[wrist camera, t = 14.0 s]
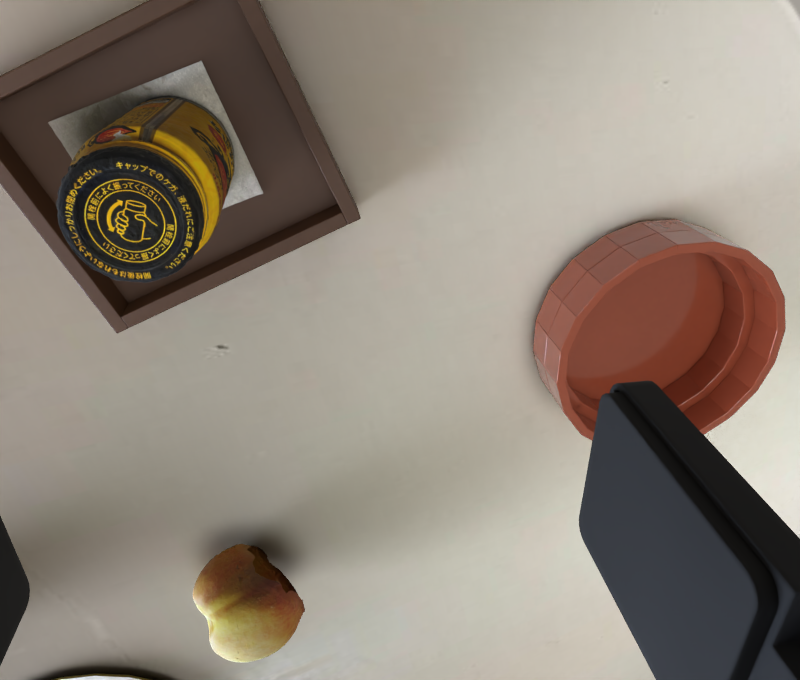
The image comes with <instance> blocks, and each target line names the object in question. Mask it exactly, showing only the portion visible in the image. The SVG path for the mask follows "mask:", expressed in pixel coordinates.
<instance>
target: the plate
mask: <svg viewBox="0 0 800 680" xmlns="http://www.w3.org/2000/svg"><path fill="white" fill-rule="evenodd" d="M53 680H151V679H146V678H142V677H137V676H132V675H119V674H98V673H95V674H86V675H77V676H68V677H60V678H57V679H53Z"/></svg>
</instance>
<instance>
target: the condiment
mask: <svg viewBox="0 0 800 680" xmlns="http://www.w3.org/2000/svg"><path fill="white" fill-rule="evenodd" d="M48 123H49V125H50V126H51V128H52V129H53V131H54V132H55V134H56V136H57V137H58V138H59V140H60V141H61V142H62V144H63V146H64V147H65V149H66V151H67V152H68V154H69V155H70V157H71V158H72V162H71V164H70V166H69V167H68V173H67V174H66V175H65V176H64V177H63V178H62V180H61V183H62V184H61V186H60V187H59V189H58V199H57V201H56V208H57V210H58V215H57V217H58V223H59V227H60V229H61V231H62V233H63V235H64V237H65V239H66V241H67V242H68V244H69V245H70V247H71V249H72V250H73V251H74V253H75V254H76V255H77V256H78V257H79V258H80V259H81V260H82V261H84V262H85V264H86V265H88V266H89V267H90V268H92V269H93V270H96V271H98V272H100V273H102V274H104V275H106V276H108V277H110V278H112V279H114V280H117V281H130V282H142V283H147V282H152V281H156V280H159V279H161V278H165V277H168V276H169V275H172V274H174V273H176V272H178V271H179V270H180V269H182V268H183V267H184V266H185V265H186V263H187V262H188V261H189V260H191V259H192V258H193V256H194V254H195V253H197V252H198V251H199V250H200V249H201V248H202V247H203V246H204V245H205V244H206V243H207V241H208V240H209V239H210V237H211V236H212V234H213V232H214V229H215V227H216V226H217V224H218V222H219V217H220V213H221V210H222V209H224V208H226V207H229V206H231V205H234V204H236V203H239V202H242V201H244V200H246V199H249V198H251V197H254V196H257V195H260V194H263V191H262V189H261V187H260V185H259V182H258V180H257V178H256V176H255V174H254V171H253V169H252V167H251V165H250V163H249V161H248V159H247V156H246V154H245V152H244V150H243V148H242V146H241V143H240V141H239V139H238V137H237V135H236V133H235V131H234V129H233V126H232V124H231V122H230V120H229V118H228V116H227V114H226V112H225V109H224V107H223V105H222V103H221V101H220V99H219V97H218V95H217V93H216V91H215V89H214V87H213V84H212V82H211V80H210V78H209V76H208V74H207V72H206V69H205V67H204V65H203V63H202V61H200V62H197V63H195V64H192V65H190V66H187V67H185V68H182V69H180V70H177V71H175V72H172V73H170V74H167V75H165V76H162V77H160V78H157V79H155V80H152V81H150V82H147V83H145V84H142V85H140V86H137V87H135V88H132V89H130V90H127V91H125V92H122V93H120V94H117V95H115V96H112V97H110V98H108V99H105V100H102V101H100V102H97V103H95V104H92V105H90V106H87V107H84V108H82V109H80V110H77V111H75V112H72V113H70V114H68V115H65V116H62V117H60V118H57V119H55V120H52V121H50V122H48Z"/></svg>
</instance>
